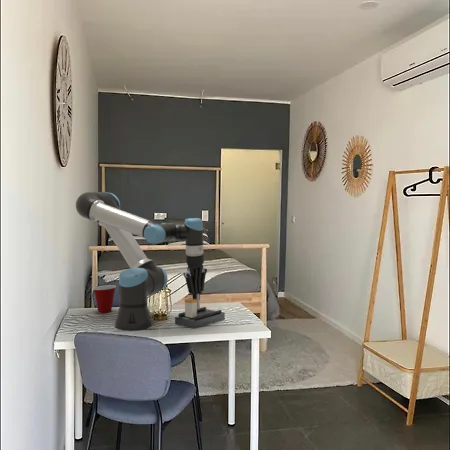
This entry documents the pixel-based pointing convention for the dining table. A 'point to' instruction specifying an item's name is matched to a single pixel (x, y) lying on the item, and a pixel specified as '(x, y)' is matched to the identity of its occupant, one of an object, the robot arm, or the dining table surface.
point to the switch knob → (190, 307)
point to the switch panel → (200, 318)
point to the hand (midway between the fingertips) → (196, 308)
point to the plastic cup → (104, 297)
